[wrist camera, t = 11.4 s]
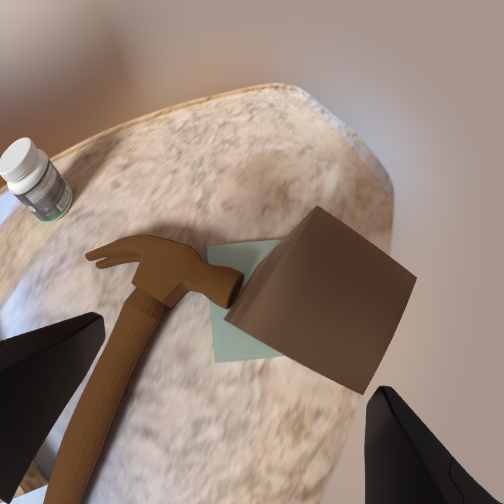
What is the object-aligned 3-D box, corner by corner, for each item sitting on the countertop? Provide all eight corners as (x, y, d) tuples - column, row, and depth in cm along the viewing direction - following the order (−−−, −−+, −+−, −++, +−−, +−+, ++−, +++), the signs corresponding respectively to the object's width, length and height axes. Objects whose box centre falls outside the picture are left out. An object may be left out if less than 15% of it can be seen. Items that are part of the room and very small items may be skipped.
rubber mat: (311, 351, 20) (312, 351, 20) (215, 362, 20) (215, 362, 20) (293, 240, 24) (294, 238, 23) (207, 247, 23) (206, 245, 23)
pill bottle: (35, 202, 25) (-6, 156, 17) (68, 177, 26) (32, 125, 18) (43, 233, 23) (-5, 187, 16) (79, 206, 25) (37, 152, 17)
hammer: (100, 554, 11) (246, 281, 22) (85, 566, 8) (244, 266, 19) (11, 476, 13) (127, 225, 24) (-8, 480, 11) (113, 206, 21)
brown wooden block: (278, 352, 20) (362, 395, 8) (223, 319, 20) (243, 330, 8) (309, 297, 21) (417, 277, 9) (257, 265, 21) (317, 205, 9)
